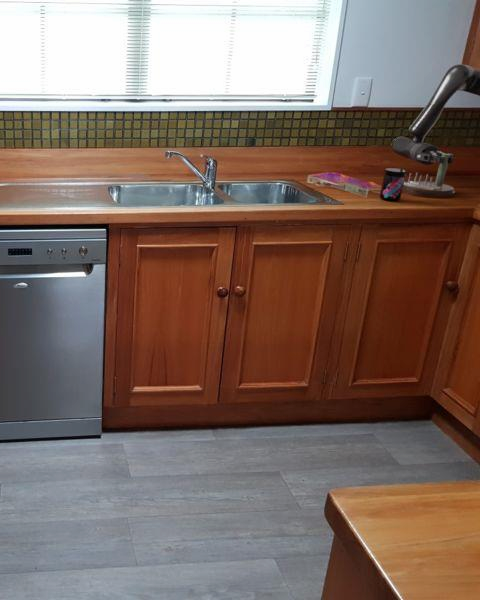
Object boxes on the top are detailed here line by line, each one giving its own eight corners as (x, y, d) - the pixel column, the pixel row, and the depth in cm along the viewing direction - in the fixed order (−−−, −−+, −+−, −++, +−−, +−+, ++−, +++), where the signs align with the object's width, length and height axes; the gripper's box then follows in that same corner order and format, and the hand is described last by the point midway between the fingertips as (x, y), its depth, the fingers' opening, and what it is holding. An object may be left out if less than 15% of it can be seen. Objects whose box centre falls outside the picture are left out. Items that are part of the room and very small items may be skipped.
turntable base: (452, 190, 230) (453, 186, 230) (455, 200, 215) (456, 196, 215) (399, 185, 237) (400, 181, 237) (399, 194, 223) (400, 190, 222)
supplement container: (375, 199, 215) (382, 169, 211) (383, 196, 219) (390, 167, 215) (395, 202, 210) (402, 172, 206) (403, 199, 215) (410, 170, 210)
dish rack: (418, 181, 236) (426, 150, 232) (463, 190, 223) (471, 157, 218) (392, 186, 228) (399, 153, 224) (436, 195, 215) (444, 161, 210)
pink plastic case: (393, 196, 220) (396, 181, 218) (360, 198, 215) (363, 184, 213) (334, 179, 246) (336, 166, 244) (304, 181, 241) (306, 168, 239)
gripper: (408, 143, 238) (430, 149, 222) (444, 143, 238) (469, 150, 222) (404, 162, 241) (425, 170, 225) (439, 163, 241) (463, 171, 225)
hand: (447, 160), depth 224 cm, fingers closed on dish rack, 2 cm apart
